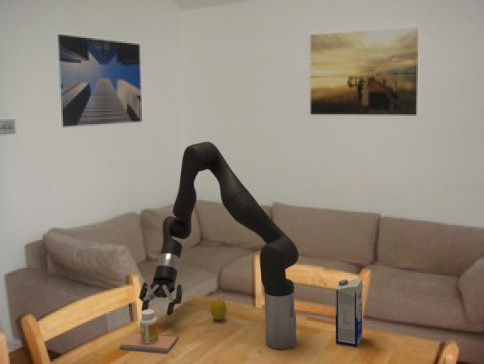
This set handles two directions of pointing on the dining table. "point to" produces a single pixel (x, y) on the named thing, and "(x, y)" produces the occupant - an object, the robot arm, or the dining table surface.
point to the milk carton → (349, 312)
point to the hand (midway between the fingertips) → (156, 314)
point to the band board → (159, 346)
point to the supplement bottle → (148, 327)
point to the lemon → (218, 309)
